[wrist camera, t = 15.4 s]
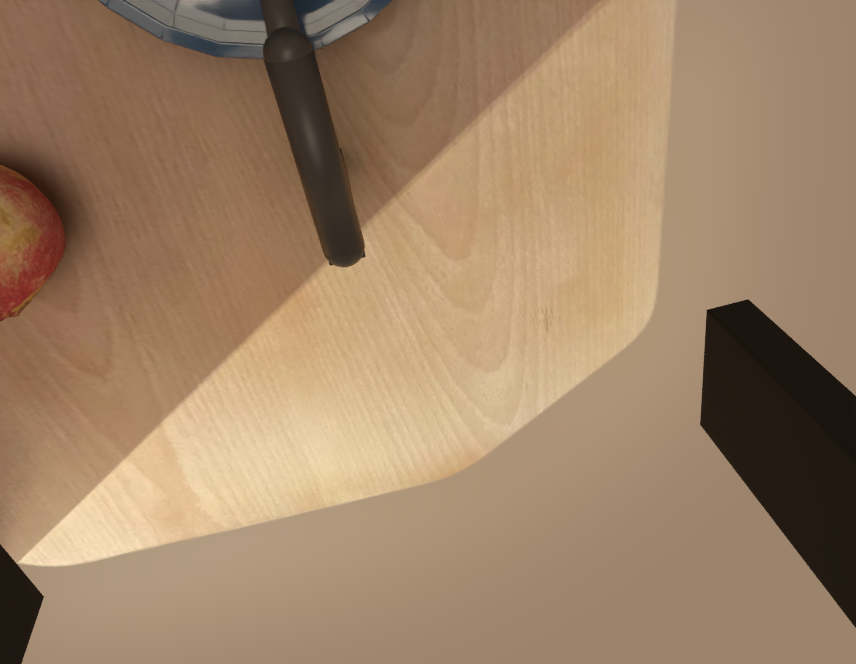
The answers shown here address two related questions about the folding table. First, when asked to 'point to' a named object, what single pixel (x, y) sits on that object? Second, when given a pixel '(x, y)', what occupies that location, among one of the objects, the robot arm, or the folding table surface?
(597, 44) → the folding table surface
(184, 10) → the bowl
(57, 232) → the fruit
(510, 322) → the folding table surface
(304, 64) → the ladle
